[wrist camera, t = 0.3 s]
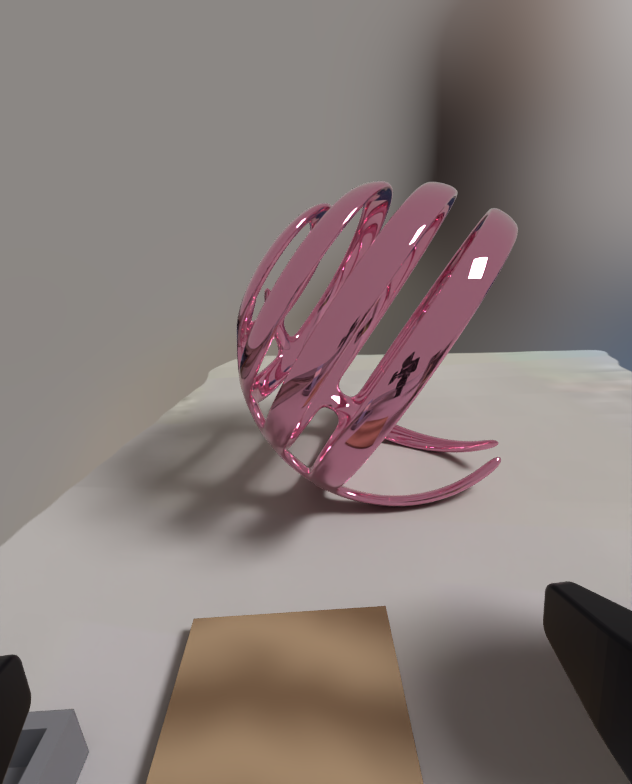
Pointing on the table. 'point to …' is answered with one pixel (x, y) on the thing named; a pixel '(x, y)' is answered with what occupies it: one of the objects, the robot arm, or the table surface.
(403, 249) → the spiral basket
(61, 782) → the tray
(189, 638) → the pad
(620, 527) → the table surface
